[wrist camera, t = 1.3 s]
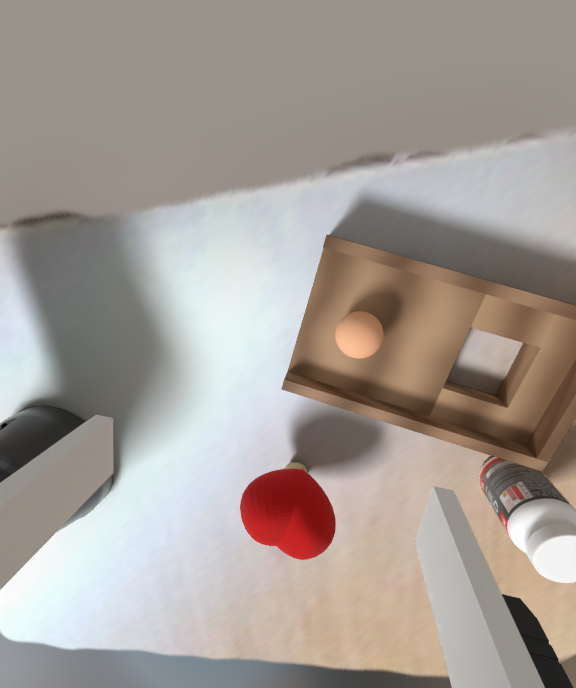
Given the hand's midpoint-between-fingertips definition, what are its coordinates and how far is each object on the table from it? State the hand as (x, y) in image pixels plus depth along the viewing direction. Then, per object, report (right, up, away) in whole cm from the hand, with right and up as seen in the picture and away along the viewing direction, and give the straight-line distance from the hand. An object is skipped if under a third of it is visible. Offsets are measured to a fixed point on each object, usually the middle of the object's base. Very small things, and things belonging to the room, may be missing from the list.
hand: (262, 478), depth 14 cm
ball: (+7, +7, +17) cm, 20 cm away
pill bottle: (+24, -8, +22) cm, 33 cm away
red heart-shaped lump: (+2, -9, +25) cm, 27 cm away
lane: (+14, +5, +19) cm, 24 cm away
